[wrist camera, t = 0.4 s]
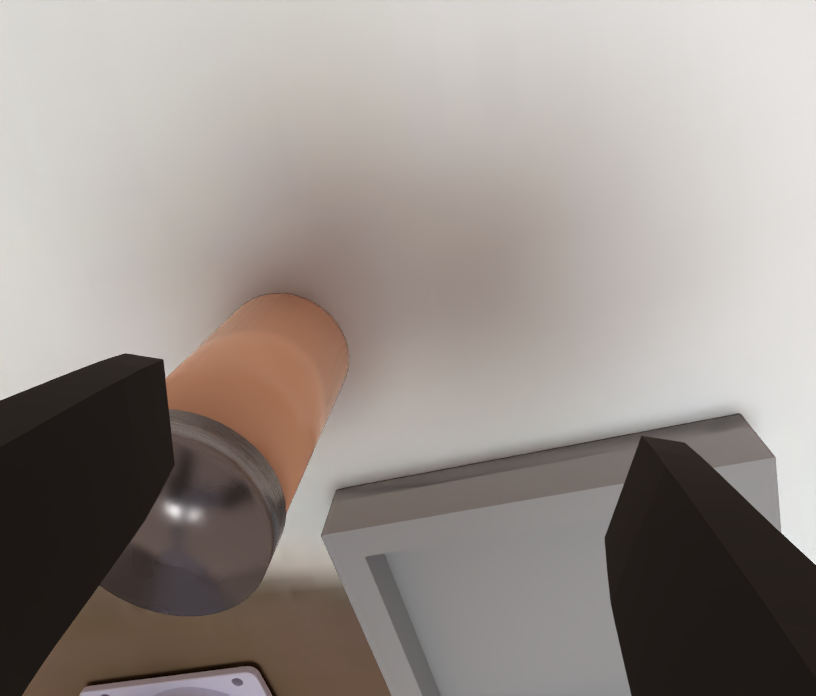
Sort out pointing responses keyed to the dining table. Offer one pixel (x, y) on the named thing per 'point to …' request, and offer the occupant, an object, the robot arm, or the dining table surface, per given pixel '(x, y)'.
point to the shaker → (234, 456)
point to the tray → (509, 563)
